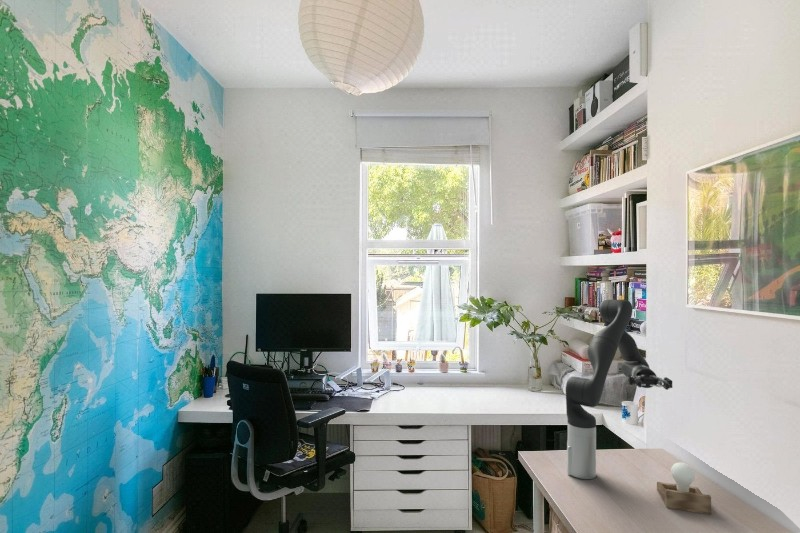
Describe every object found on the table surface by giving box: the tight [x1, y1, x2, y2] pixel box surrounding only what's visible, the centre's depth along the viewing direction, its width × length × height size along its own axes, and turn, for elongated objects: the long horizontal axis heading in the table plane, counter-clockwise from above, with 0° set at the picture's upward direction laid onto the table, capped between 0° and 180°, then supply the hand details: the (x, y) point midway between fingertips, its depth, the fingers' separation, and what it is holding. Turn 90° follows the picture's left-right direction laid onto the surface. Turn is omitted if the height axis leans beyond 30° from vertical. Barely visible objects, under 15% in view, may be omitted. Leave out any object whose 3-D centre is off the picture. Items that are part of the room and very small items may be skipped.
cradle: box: [656, 481, 712, 515], centre depth 133 cm, size 11×11×5 cm
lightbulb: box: [670, 462, 696, 492], centre depth 133 cm, size 6×6×11 cm
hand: (653, 385), depth 156 cm, fingers open, 8 cm apart
